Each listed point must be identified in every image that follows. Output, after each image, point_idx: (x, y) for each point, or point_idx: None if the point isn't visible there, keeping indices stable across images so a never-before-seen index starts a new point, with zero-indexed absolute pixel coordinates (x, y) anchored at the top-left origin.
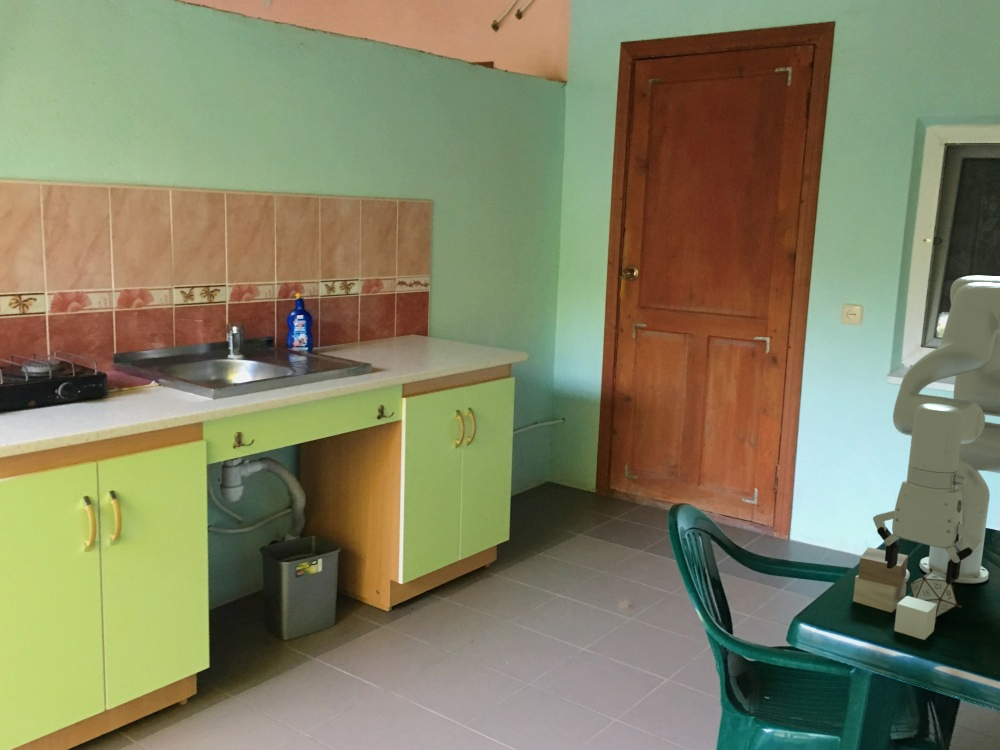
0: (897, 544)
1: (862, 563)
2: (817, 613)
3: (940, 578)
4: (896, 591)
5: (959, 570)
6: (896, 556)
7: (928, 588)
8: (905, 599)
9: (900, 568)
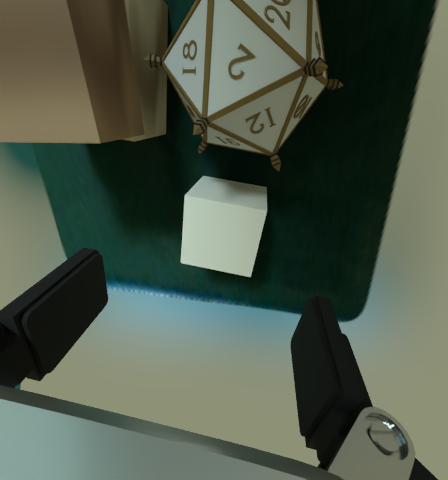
0: (23, 327)
1: None
2: (70, 232)
3: (265, 61)
4: (143, 111)
5: (353, 362)
6: (77, 288)
7: (230, 138)
8: (188, 225)
9: (105, 141)
